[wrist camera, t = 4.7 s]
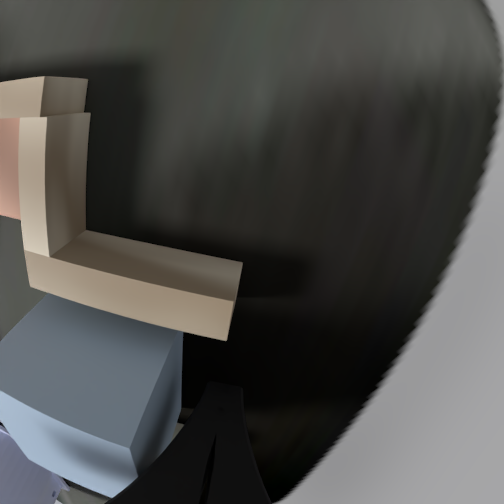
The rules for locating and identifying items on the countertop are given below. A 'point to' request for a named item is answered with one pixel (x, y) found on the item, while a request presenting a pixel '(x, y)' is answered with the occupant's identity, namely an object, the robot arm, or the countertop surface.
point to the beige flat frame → (88, 242)
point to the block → (90, 392)
